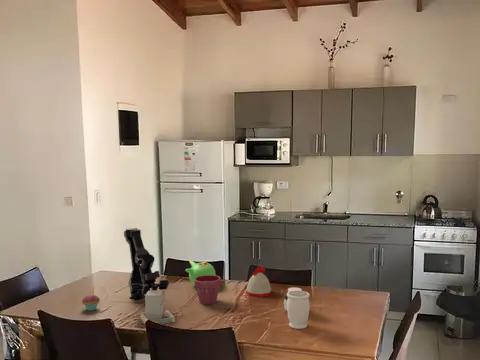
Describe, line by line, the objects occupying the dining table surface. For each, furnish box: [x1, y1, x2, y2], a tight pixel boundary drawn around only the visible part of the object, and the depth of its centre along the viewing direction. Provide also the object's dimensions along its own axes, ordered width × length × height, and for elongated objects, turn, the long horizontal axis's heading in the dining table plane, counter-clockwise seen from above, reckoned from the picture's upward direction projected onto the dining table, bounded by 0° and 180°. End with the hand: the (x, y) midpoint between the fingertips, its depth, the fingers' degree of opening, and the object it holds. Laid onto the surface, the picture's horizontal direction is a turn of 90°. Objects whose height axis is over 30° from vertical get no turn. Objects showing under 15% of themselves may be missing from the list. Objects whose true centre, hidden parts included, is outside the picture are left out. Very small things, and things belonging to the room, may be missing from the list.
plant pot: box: [193, 275, 222, 305], centre depth 249 cm, size 14×14×13 cm
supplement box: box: [144, 289, 164, 320], centre depth 224 cm, size 7×7×13 cm
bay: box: [140, 309, 176, 325], centre depth 222 cm, size 11×13×2 cm
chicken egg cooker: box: [246, 266, 272, 298], centre depth 263 cm, size 14×14×15 cm
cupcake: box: [81, 286, 101, 312], centre depth 238 cm, size 9×8×12 cm
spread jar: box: [283, 287, 303, 312], centre depth 233 cm, size 12×11×12 cm
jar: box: [286, 290, 311, 330], centre depth 213 cm, size 11×10×15 cm
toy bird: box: [185, 260, 217, 285], centre depth 278 cm, size 18×17×15 cm
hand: (153, 301), depth 228 cm, fingers closed
